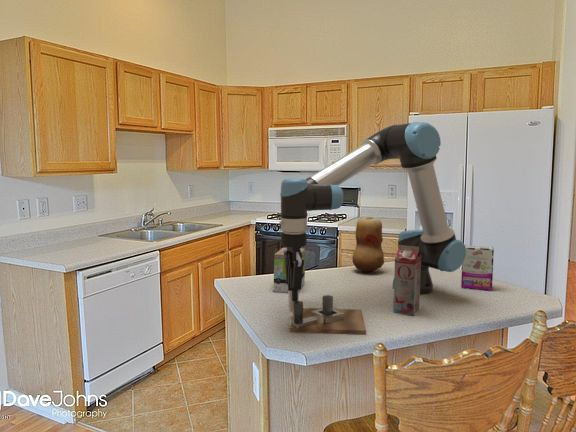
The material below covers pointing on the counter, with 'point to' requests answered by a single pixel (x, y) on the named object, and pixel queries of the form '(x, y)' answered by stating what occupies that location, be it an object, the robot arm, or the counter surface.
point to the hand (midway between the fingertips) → (293, 310)
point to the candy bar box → (478, 268)
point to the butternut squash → (368, 245)
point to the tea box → (283, 270)
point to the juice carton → (407, 280)
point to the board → (348, 325)
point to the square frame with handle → (313, 316)
